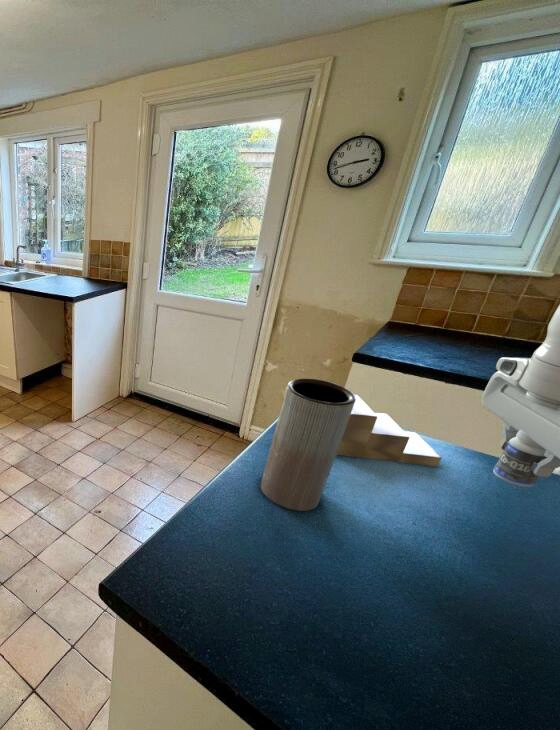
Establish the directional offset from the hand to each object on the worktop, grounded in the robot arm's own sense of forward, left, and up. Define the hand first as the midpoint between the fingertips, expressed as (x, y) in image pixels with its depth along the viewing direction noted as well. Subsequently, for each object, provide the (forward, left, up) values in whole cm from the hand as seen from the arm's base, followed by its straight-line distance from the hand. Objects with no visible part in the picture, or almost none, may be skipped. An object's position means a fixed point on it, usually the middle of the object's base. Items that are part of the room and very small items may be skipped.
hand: (522, 461), depth 65 cm
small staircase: (+7, -24, -15) cm, 29 cm away
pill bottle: (0, 0, -3) cm, 3 cm away
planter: (+29, -3, -15) cm, 33 cm away
